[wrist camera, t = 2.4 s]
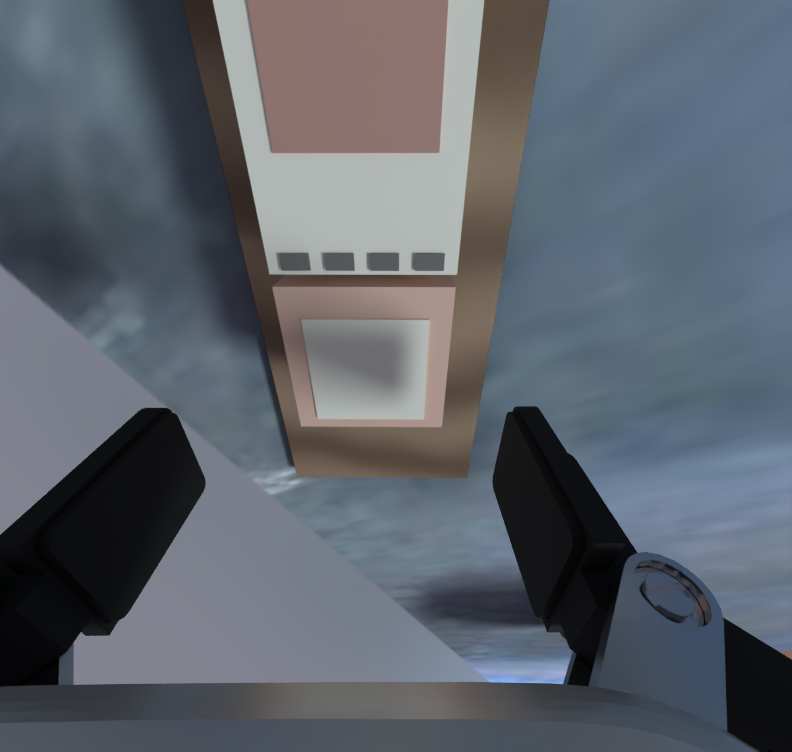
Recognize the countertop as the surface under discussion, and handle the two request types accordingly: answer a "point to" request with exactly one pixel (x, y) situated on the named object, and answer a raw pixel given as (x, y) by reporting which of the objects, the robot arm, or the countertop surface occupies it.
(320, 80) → the white box with vents
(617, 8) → the countertop surface
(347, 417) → the stub
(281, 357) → the board
